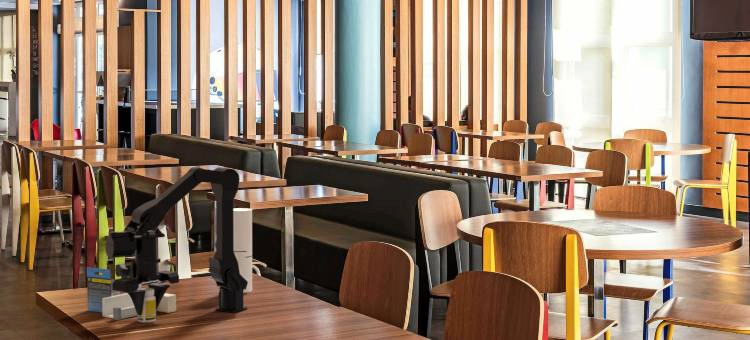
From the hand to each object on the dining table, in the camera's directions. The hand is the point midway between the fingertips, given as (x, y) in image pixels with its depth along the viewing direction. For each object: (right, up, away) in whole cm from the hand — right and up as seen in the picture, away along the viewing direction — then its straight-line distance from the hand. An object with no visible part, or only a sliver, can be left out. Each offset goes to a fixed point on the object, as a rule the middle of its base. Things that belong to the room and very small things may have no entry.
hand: (146, 313), depth 280 cm
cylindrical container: (+19, +1, +43) cm, 47 cm away
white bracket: (-4, -1, +10) cm, 11 cm away
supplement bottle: (0, -2, 0) cm, 2 cm away
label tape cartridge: (-14, -1, +12) cm, 19 cm away
